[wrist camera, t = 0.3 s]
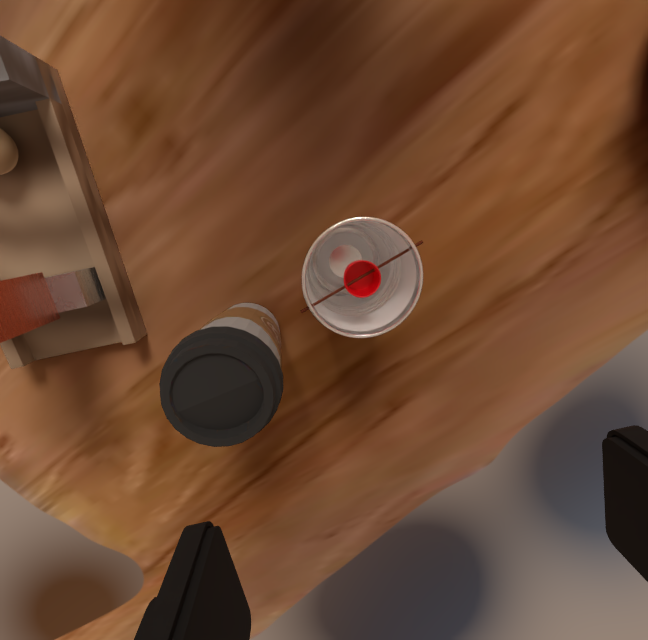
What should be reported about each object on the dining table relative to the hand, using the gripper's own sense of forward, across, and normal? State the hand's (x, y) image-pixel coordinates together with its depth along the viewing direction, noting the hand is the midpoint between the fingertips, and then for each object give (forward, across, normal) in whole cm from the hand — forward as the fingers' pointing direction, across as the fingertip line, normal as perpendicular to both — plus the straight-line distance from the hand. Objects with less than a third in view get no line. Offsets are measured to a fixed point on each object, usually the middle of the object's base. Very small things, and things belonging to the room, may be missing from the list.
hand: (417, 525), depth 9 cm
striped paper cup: (+31, -2, -3) cm, 31 cm away
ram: (+29, +25, -6) cm, 39 cm away
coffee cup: (+31, +9, +2) cm, 32 cm away
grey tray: (+31, +25, -12) cm, 41 cm away
